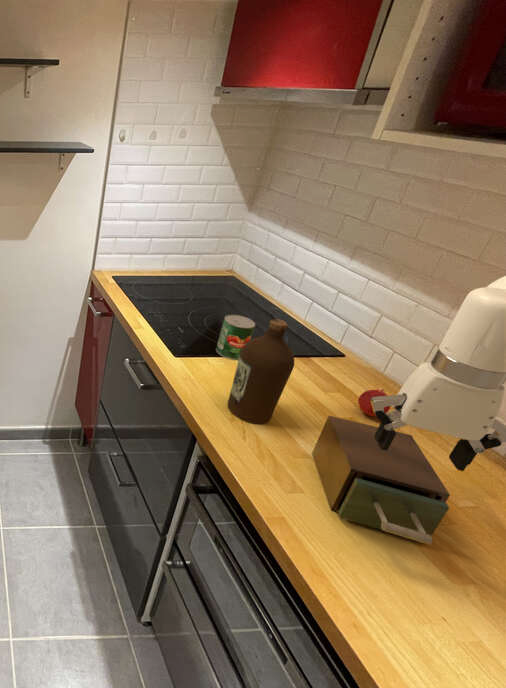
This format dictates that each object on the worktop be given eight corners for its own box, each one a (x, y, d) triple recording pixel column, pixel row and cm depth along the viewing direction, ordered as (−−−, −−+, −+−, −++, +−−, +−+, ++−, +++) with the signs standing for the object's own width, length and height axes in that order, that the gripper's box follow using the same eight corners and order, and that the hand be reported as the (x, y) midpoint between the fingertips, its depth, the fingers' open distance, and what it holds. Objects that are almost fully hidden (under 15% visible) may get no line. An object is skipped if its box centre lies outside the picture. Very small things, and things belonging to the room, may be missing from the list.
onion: (385, 426, 105) (399, 399, 102) (355, 417, 108) (368, 390, 105) (381, 412, 110) (394, 386, 106) (352, 404, 112) (364, 378, 109)
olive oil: (265, 401, 113) (297, 314, 103) (280, 430, 103) (316, 337, 93) (220, 394, 115) (246, 308, 105) (229, 421, 106) (259, 329, 96)
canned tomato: (229, 344, 138) (238, 312, 134) (251, 357, 132) (262, 325, 127) (209, 348, 136) (218, 316, 131) (231, 362, 129) (241, 329, 124)
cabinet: (422, 537, 79) (450, 495, 75) (330, 510, 84) (351, 468, 80) (389, 474, 92) (411, 435, 88) (311, 453, 97) (328, 415, 93)
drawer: (442, 573, 72) (468, 537, 69) (348, 544, 77) (368, 508, 73) (394, 482, 89) (412, 448, 85) (320, 462, 94) (334, 429, 90)
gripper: (531, 370, 67) (474, 456, 74) (386, 342, 73) (347, 424, 80) (565, 399, 60) (500, 490, 67) (403, 366, 67) (359, 452, 74)
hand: (417, 454), depth 74 cm, fingers open, 9 cm apart
